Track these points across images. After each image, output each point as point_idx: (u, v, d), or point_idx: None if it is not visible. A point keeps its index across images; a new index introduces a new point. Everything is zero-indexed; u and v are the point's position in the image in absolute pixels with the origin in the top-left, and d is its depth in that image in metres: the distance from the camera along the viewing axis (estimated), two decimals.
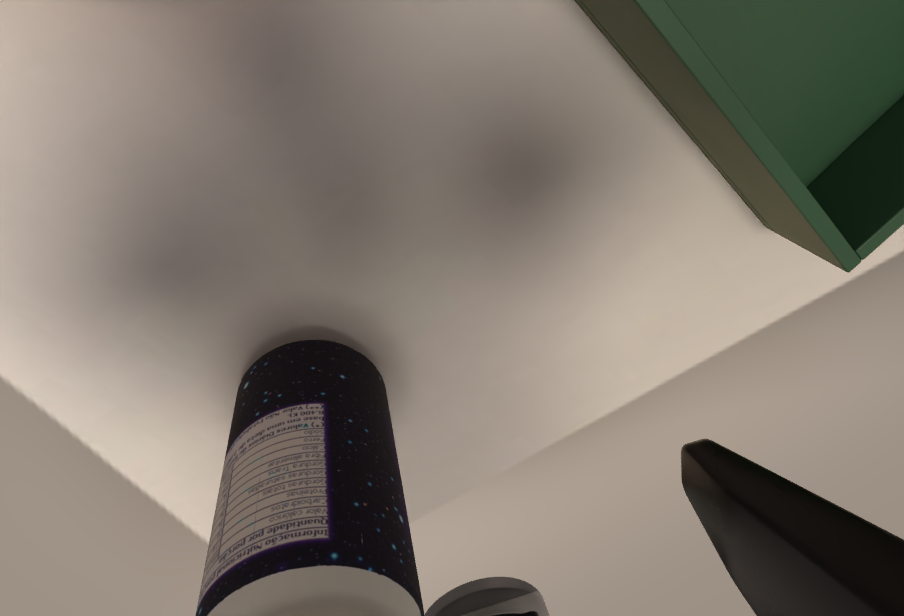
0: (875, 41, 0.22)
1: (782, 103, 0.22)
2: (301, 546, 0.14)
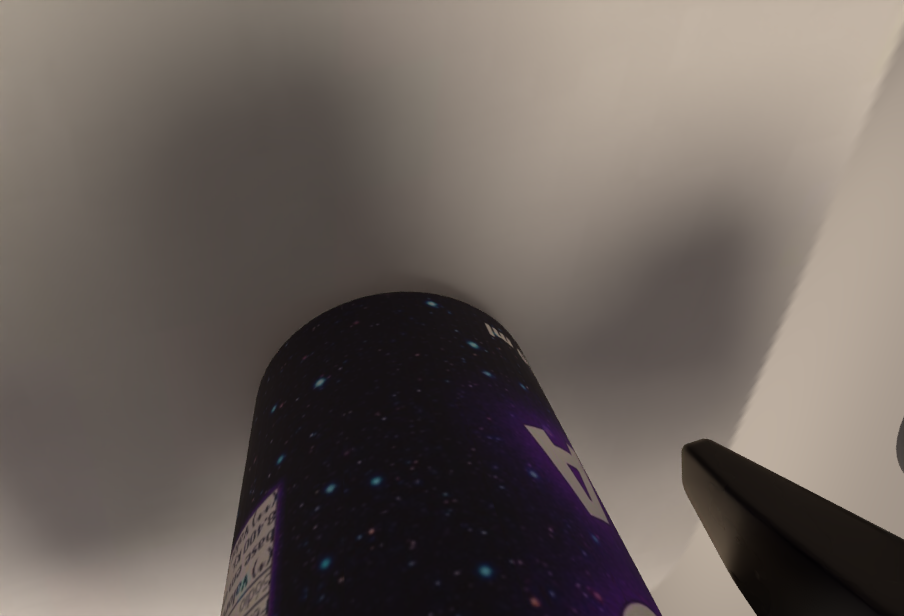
0: None
1: None
2: None
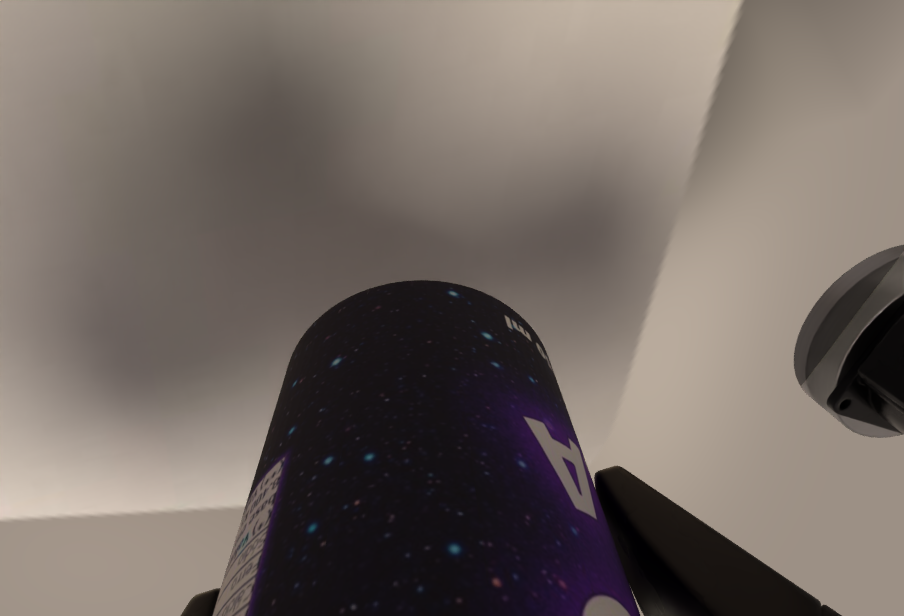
0: None
1: None
2: None
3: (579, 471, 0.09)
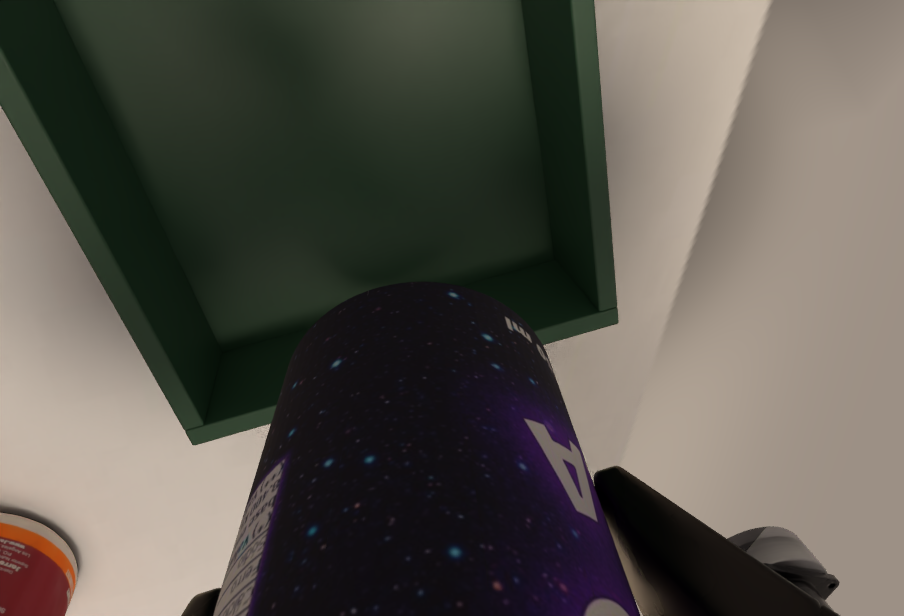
0: (447, 108, 0.19)
1: (442, 225, 0.20)
2: None
3: (580, 473, 0.09)
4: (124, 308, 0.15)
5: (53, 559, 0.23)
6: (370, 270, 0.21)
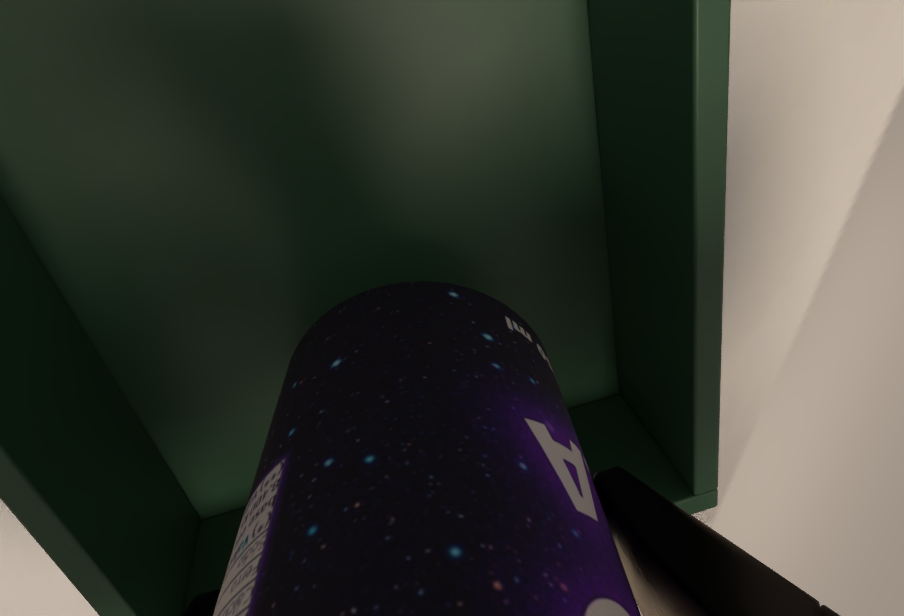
0: (492, 226, 0.14)
1: None
2: None
3: (580, 473, 0.09)
4: (52, 544, 0.11)
5: None
6: None
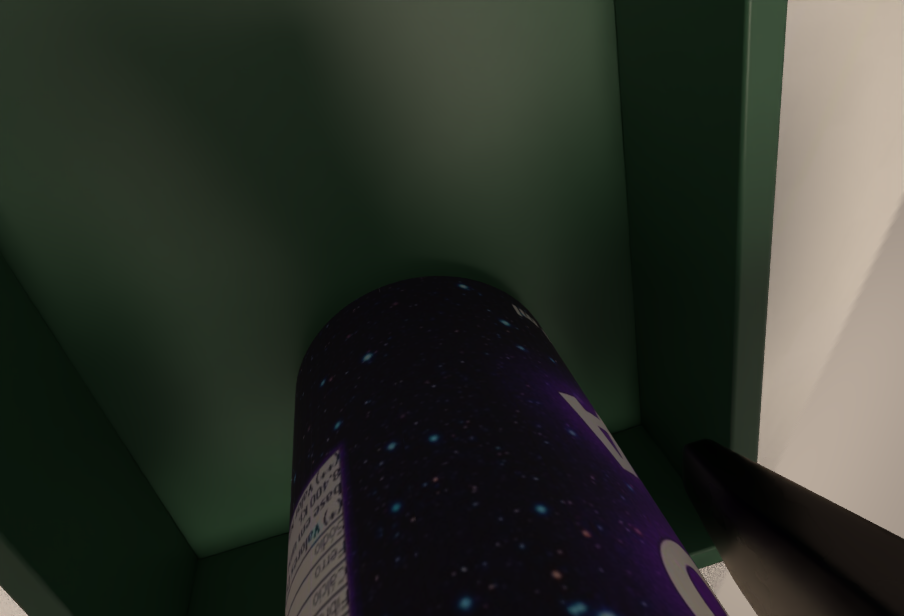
0: (510, 252, 0.13)
1: None
2: None
3: (612, 438, 0.09)
4: (34, 605, 0.10)
5: None
6: None
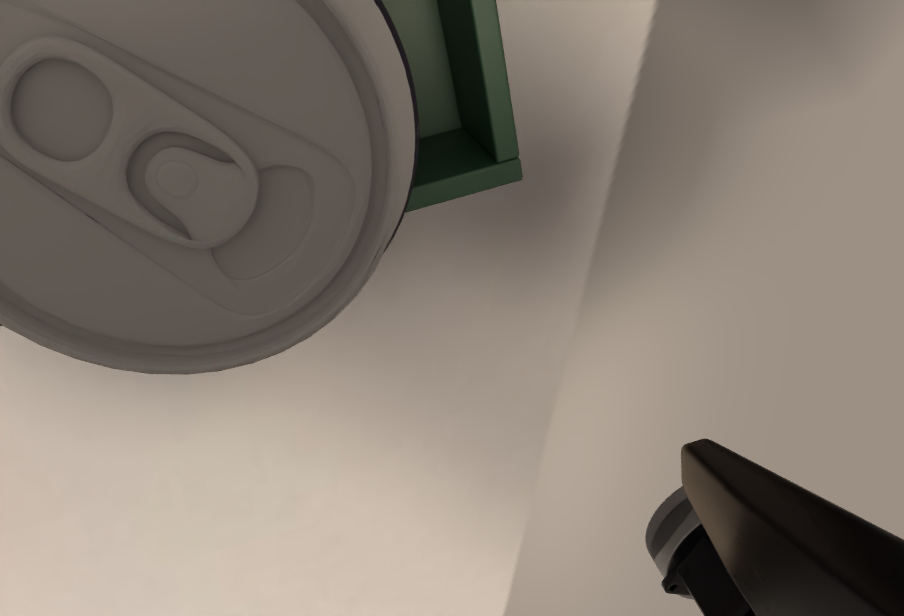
0: None
1: None
2: None
3: None
4: None
5: None
6: None
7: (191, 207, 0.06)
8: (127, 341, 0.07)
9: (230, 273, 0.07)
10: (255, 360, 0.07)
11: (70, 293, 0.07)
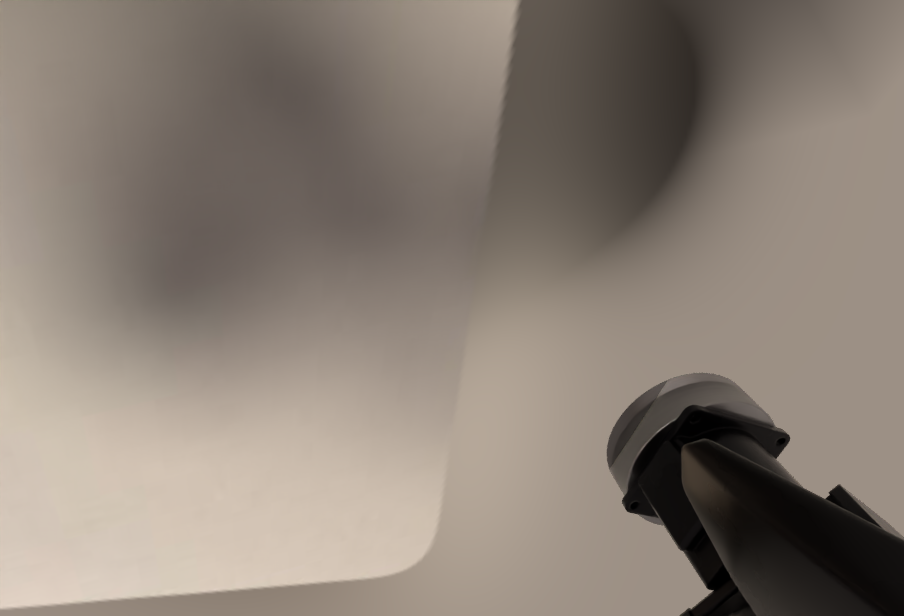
0: None
1: None
2: None
3: None
4: None
5: None
6: None
7: None
8: None
9: None
10: None
11: None
